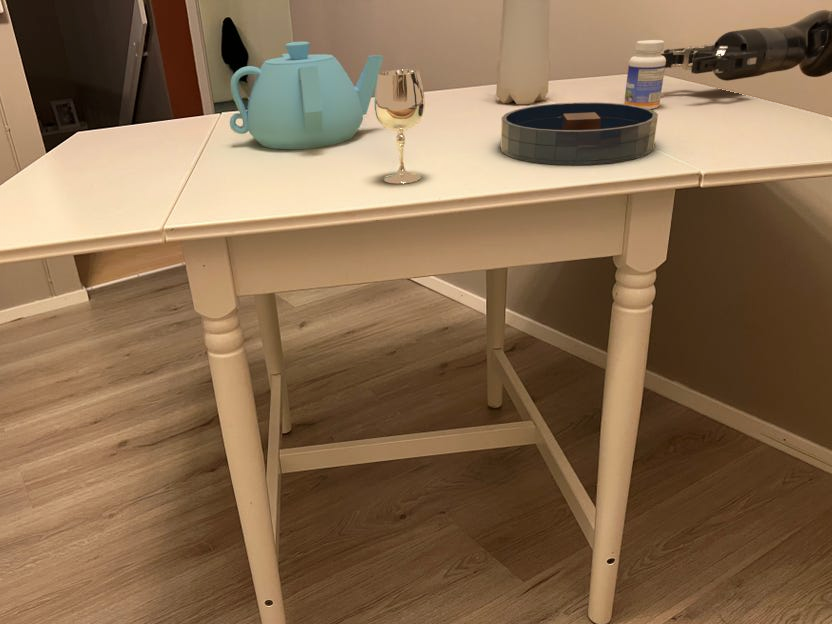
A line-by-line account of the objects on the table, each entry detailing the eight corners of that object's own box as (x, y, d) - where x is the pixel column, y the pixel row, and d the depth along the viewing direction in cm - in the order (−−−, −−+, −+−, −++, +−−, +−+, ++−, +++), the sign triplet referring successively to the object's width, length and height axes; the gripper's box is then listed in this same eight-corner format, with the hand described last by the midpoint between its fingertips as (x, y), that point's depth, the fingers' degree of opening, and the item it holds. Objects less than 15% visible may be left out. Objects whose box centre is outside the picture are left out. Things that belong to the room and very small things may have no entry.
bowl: (635, 128, 100) (638, 99, 98) (670, 161, 83) (675, 127, 82) (497, 134, 103) (498, 106, 101) (505, 167, 86) (506, 134, 84)
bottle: (527, 107, 120) (538, -103, 106) (485, 103, 126) (489, -96, 112) (558, 98, 125) (572, -102, 111) (515, 95, 131) (523, -96, 117)
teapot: (315, 156, 98) (305, 48, 92) (217, 147, 109) (202, 50, 102) (389, 129, 112) (385, 34, 105) (297, 123, 122) (288, 36, 116)
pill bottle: (621, 104, 116) (628, 40, 112) (656, 103, 115) (665, 38, 111) (625, 110, 112) (633, 44, 107) (662, 109, 111) (671, 41, 106)
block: (592, 144, 92) (595, 112, 90) (597, 151, 88) (600, 118, 86) (560, 145, 92) (562, 113, 90) (564, 152, 89) (567, 119, 87)
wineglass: (433, 180, 83) (431, 72, 78) (387, 187, 82) (382, 77, 76) (415, 170, 88) (413, 67, 82) (372, 176, 87) (366, 72, 81)
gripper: (717, 27, 121) (643, 36, 116) (792, 30, 110) (713, 40, 105) (710, 74, 125) (637, 84, 120) (781, 81, 113) (704, 94, 108)
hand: (672, 64), depth 112 cm, fingers open, 8 cm apart
